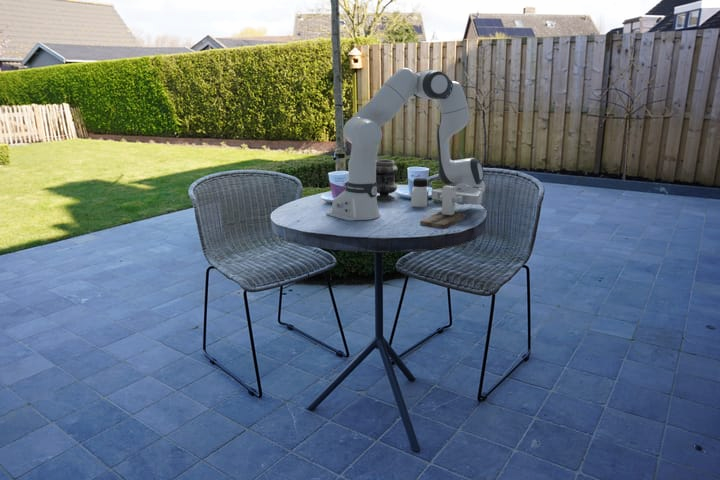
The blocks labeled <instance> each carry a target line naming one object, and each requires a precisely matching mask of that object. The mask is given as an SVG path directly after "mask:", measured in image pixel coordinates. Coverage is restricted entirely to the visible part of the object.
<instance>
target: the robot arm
mask: <svg viewBox="0 0 720 480" xmlns="http://www.w3.org/2000/svg"><path fill="white" fill-rule="evenodd" d="M412 96H414V97H416V98H419V99H425V100H436V102H437V103H438V106H439V110H440V111H439V112H440V115H441V119H440V120H441V121H440V125H438V127H437V129H436V141H437V142H436V143H437V154H438V171H437V172H438V173H437V174H438V178H439V180H440V181H443V182H444V183H445V184H451V185H452V184H455V185H454V186H456V190H455V197H454V198H453V199H452V200H453V201H452V202H454V203H455V204H456V205H460V206H461V205H463V206H464V205H473V206H474V205H480V204H482V203H483V195H484V193H485V190H486V184H485V181H484V167H483V165H482V163H481V162H480V160H478V159H477V158H475V157H468V158H467V157H466V158H462V159H460V158H459V159H454V160H452V158H451V151H450V140H451V138H452V137H453V136H454V135H456V134H457V133H459V132H461V131H462V130H463V129H464V128H465V127H466V126H467V125H468V123H469V121H470V109H469V105H468V102H467V98H466V94H465V92H464V88H463V87H462V84H461V83H460V82H458V81H456V80H451V79H450V78H449V76H448V75H447V73H446V72H444V71H442V70H440V69H425V70H420V71H417V72H414V71H413V70H412V69H410V68H408V67H401V68H399V69H398V70H396V71H395V72H394V73H393V74H392V75H391V76H390V77H389V78H388V79H387V80H386V81H385V82H384V83H383V84H382V86H381V87H380V88H379V89H378V91H377V92H376V93H375V94H374V95H373V97H372V98H371V99H370V100H369V101H367V103H365V104H364V105H363V106H362V107H361V108H360V109H359V110H358V111H357V112H356V113H354V115H353V116H352V117H351V118H350V119H348V120H347V121H346V122H345V124H344V126H343V135H344V137H345V139H346V141H347V142H348V143H350V144H351V148H350V156H349V160H348V162H347V163H348V164H347V165H348V167H347V168H348V169H347V170H348V172H347V174H348V178H347V179H348V181H347V182H345V183H343V185H342V186H343V187H345V189H344V190H343V191H342V192H341V193H340V194H339V195H337V196H336V197H335V198H334V199H333V200H332V205H331V209H328V210H327V211H326V215H328V216H331V217H334V218H338V219H340V220H341V219H342V220H345V221H349V222H351V221H364V220H365V221H367V220H368V221H369V220H374V219H378V218H379V217H380V216H381V213H380V210H379V206H378V200H377V196H378V195H377V194H378V193H377V181H376V160H378V159H377V158H378V154H379V149H380V143H381V142H382V138H383V131H382V127H383V126H384V125H386V124H387V123H388V122H390V121H391V120H393V118H394V117H395V116H396V115H397V114H398V112H400V111H401V109H402V108H403V107H404V105H405V104H406V103H407V102H408V100H409V99H410V98H411V97H412ZM456 183H457V184H456ZM430 194H431V195H430V196H431V197H430V198H431V199H432V200H433V199H437V200H440V201H442V197H443V188H439V189H435V190H432V189H431V193H430Z"/></svg>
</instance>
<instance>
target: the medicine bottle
mask: <svg viewBox="0 0 720 480" xmlns="http://www.w3.org/2000/svg"><path fill="white" fill-rule="evenodd" d="M412 183H413V187H412V189H411V201H410V204H411V205H410V206H411V207H412V208H413V207H414V208H416V207H417V208H427V207H428V206H429V188H428V179H427V178H425V177H416V178H414V179H413V182H412Z"/></svg>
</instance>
